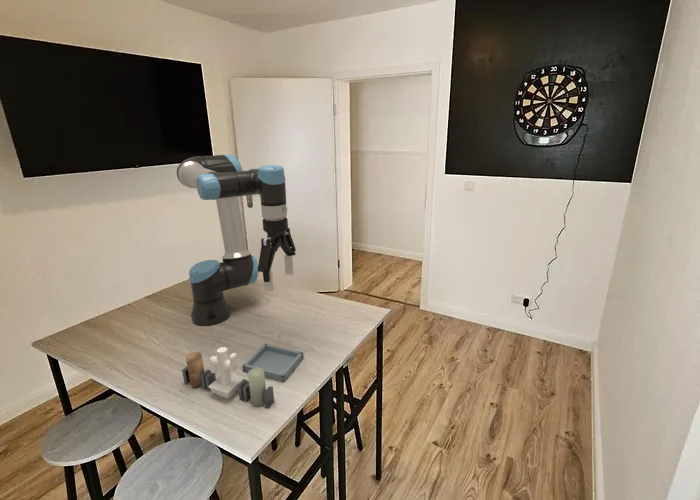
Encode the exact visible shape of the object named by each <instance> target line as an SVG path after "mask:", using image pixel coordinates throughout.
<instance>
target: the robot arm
mask: <svg viewBox="0 0 700 500" xmlns="http://www.w3.org/2000/svg"><path fill="white" fill-rule="evenodd" d="M176 177H177V180H178V182H179V183H180V184H181V185H183V186H185V187H187V188H190V189H196V190H197V194H198V196H199V198H200V200H203V201H209V200H211V201H216V209H217V212H218V218H219V224H220V225H219V226H220V230H221V231H220V232H221V236H222V241H223V242H222V243H223V247H224V254H223V256H222V259H221V260H222V262H219V261H218V260H217V259H211V260H210V259H206V260H203V261H200V262H198V263H195V264H194V265H193V266H191V267H190V268H189V270H188V271H189V272H188V274H189V278H188V279H189V283H190V288H191V293H192V300H193V305H192V311H191V314H190V315H191V322H192V323H193V324H195V325H197V326H200V327H201V326H202V327H203V326H204V327H205V326H206V327H209V326H213V325H218V324H220V323H223V322H224V321H226V320H228V318H229V317H230V316H231V307H230V306H229V305H228V302H227V301H226V298H225V297H224V292H225V291H229V290H231V289H236V288H240V287H244V286H248V285H251V284H254V283H256V281H257V280H258V278H259V277H258V276H259V273H262V277H263V286H264V291H266V292H274V290H275V289H274V279H273V276H274V275H273V270H271V269H272V266H273V263H274V259H275V258H274V257H275V255H276V252H278V250H279V248H281V249H282V252H283V253H284V254H285V255H283V257H284V260H283V261H284V269H285V271H284V272H285V275H290V276H292V275H294V274H295V272H294V259H293V256H296V254H297V253H296V246H295V243H294V240H293V238H292V234H291V229H290V227H289V221H288V217H287V216H288V212H287V211H288V206H287V190H286V176H285V169H284V167H283V166H281V165H279V164H278V165H274V164H272V165H271V164H268V165H261V166H259V167H258V168H249V169H247V170H243V167H242V165H241V163H240V161H239V159H238V157H236V156H235V155H233V154H218V155H217V154H216V155H214V154H213V155H201V156H200V155H198V156H192V157H189V158H186V159H184V160H183V161H182V162H181V163H179V165H178V167H177V169H176ZM253 195H254V196H255V195H259V197H260V198H259V199H260V209H261V210H260V211H261V217H262V230H263V231H264V232H265V233H266V234H267V236H266V238H265V237H264V238H263V237H262V238H261V239H260V243H261V244H260V246H261V247H260V252H259V253H260V254H259V259H258V260H257V258H256V257H255V255H252V253H251V251H249V250H248V249H247V245H246V244H247V243H246V238H245V232H244V225H243V220H242V215H241V214H242V213H241V209H240V208H241V207H240V202H239V197H245V196H253Z"/></svg>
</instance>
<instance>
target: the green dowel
mask: <svg viewBox="0 0 700 500" xmlns="http://www.w3.org/2000/svg"><path fill="white" fill-rule="evenodd" d="M247 377H248V381H249V388H250V396H251V399H250V404H251V406H253V407H255V408H259V407H260V408H261V407H263V406H265V404H264V394H263V393H264V392H265V391H266V389H267V388H266V387H267V386H266V385H267V384H266V378H265V375H264V370H263V369H262V368H253V369H251V370H250V371H249V372H248V373H247Z"/></svg>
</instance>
